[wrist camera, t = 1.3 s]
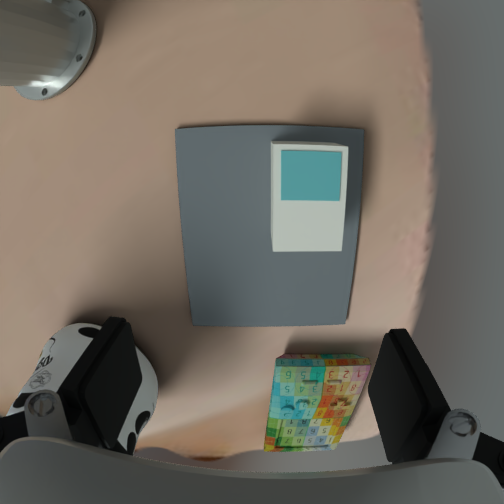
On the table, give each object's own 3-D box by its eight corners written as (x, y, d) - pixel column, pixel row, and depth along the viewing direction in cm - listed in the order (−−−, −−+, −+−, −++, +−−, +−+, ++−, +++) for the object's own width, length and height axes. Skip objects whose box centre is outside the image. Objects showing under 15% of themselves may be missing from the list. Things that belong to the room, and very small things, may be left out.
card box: (270, 140, 28) (273, 144, 23) (334, 142, 28) (348, 146, 23) (270, 232, 32) (272, 252, 27) (329, 232, 31) (341, 251, 27)
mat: (176, 129, 28) (175, 129, 28) (362, 129, 28) (364, 129, 27) (193, 322, 37) (192, 325, 36) (343, 321, 36) (345, 324, 36)
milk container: (42, 310, 37) (-27, 392, 21) (146, 312, 37) (90, 429, 20) (82, 394, 44) (43, 475, 28) (175, 404, 43) (151, 505, 27)
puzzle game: (373, 369, 34) (336, 453, 42) (363, 345, 38) (332, 432, 46) (276, 371, 34) (263, 455, 42) (275, 345, 38) (263, 433, 46)
